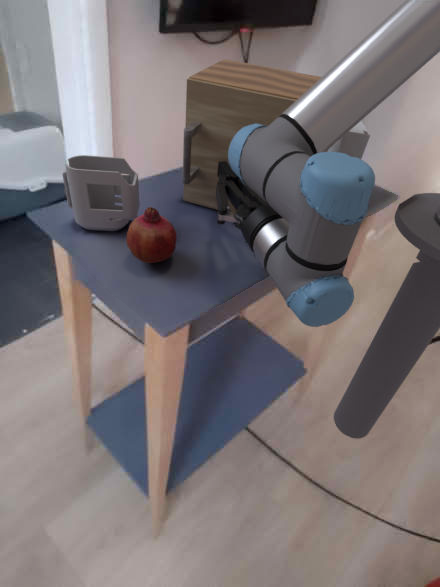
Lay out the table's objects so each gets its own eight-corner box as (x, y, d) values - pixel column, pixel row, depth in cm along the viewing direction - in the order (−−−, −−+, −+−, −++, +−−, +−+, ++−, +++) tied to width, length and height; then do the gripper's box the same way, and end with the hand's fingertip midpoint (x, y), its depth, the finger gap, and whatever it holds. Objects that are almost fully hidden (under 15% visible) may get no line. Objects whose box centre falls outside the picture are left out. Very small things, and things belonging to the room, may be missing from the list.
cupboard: (292, 227, 79) (323, 103, 63) (185, 199, 84) (189, 76, 68) (308, 190, 92) (337, 79, 76) (215, 167, 97) (224, 58, 81)
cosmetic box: (318, 178, 97) (335, 116, 87) (342, 180, 98) (361, 119, 88) (324, 194, 91) (343, 129, 81) (349, 197, 91) (372, 132, 82)
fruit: (161, 241, 71) (160, 191, 65) (185, 264, 67) (187, 213, 60) (120, 254, 67) (115, 202, 61) (143, 280, 63) (140, 227, 56)
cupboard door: (285, 243, 74) (316, 115, 59) (172, 211, 79) (173, 85, 64) (292, 227, 79) (322, 104, 63) (184, 198, 84) (188, 77, 68)
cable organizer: (137, 235, 72) (133, 173, 64) (68, 231, 71) (55, 168, 63) (141, 216, 77) (138, 156, 69) (76, 212, 76) (66, 151, 68)
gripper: (230, 265, 58) (187, 189, 74) (307, 253, 62) (250, 184, 78) (236, 220, 53) (188, 150, 69) (320, 211, 57) (256, 147, 73)
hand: (221, 168), depth 73 cm, fingers closed
